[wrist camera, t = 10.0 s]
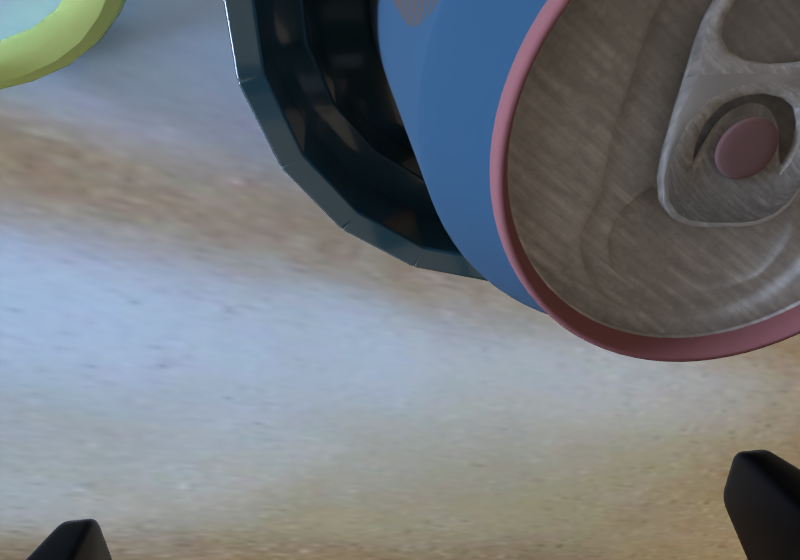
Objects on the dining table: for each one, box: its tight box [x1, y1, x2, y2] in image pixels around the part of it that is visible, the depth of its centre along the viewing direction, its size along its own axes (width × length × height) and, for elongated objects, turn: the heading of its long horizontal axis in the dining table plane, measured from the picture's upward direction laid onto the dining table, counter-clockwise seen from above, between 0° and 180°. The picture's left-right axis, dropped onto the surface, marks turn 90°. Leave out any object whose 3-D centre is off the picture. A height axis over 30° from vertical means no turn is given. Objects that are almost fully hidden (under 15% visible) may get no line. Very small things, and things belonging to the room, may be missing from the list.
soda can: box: [369, 0, 800, 362], centre depth 12 cm, size 7×7×12 cm
